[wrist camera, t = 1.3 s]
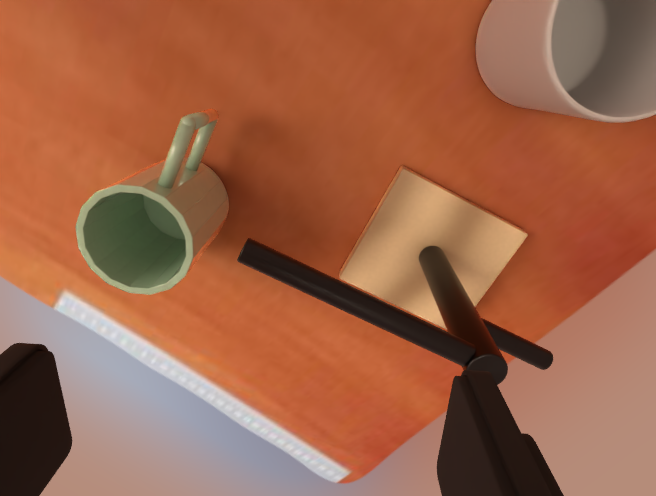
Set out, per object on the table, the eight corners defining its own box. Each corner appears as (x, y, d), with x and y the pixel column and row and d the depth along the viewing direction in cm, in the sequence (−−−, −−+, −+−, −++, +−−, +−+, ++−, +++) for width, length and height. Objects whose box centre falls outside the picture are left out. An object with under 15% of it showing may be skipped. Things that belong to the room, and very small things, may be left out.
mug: (518, 133, 32) (603, 161, 21) (448, 35, 29) (505, 16, 19) (678, 7, 28) (866, -30, 18) (612, -113, 26) (785, -231, 16)
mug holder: (256, 232, 35) (198, 341, 21) (311, 117, 32) (287, 153, 17) (456, 328, 38) (526, 482, 24) (527, 232, 34) (658, 344, 20)
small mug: (210, 255, 36) (170, 311, 28) (129, 218, 35) (63, 264, 27) (266, 129, 32) (240, 149, 24) (177, 83, 31) (117, 87, 23)
